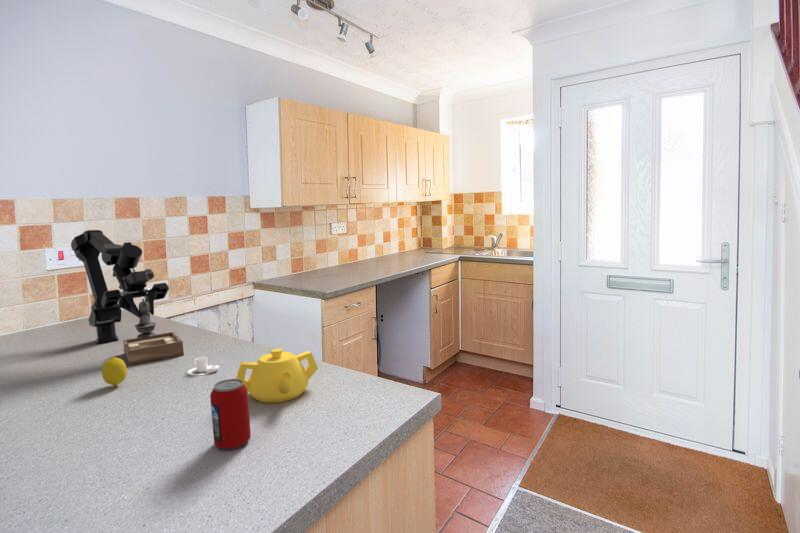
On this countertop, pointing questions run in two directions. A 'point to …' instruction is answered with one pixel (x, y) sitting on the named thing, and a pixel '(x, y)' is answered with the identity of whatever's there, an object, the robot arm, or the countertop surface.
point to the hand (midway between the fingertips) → (146, 315)
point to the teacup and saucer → (202, 366)
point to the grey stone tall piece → (145, 321)
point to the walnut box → (153, 348)
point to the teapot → (277, 375)
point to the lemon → (114, 371)
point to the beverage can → (230, 414)
